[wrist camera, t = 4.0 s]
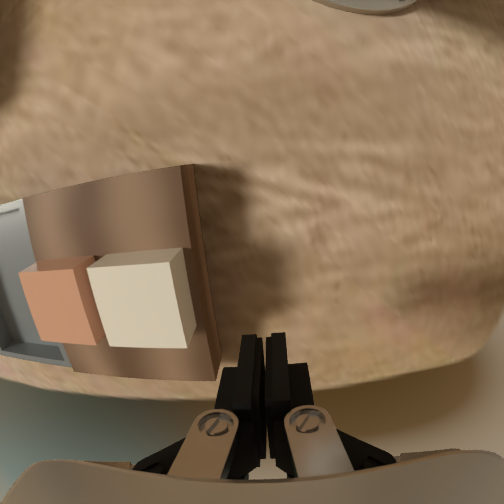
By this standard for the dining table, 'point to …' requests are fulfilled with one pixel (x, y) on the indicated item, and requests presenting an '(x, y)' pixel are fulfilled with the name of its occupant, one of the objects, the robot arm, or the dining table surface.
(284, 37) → the dining table surface
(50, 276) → the terracotta tile
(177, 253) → the off-white tile
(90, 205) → the brown flat block
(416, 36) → the dining table surface
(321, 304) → the dining table surface
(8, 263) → the box
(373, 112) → the dining table surface
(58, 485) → the robot arm
